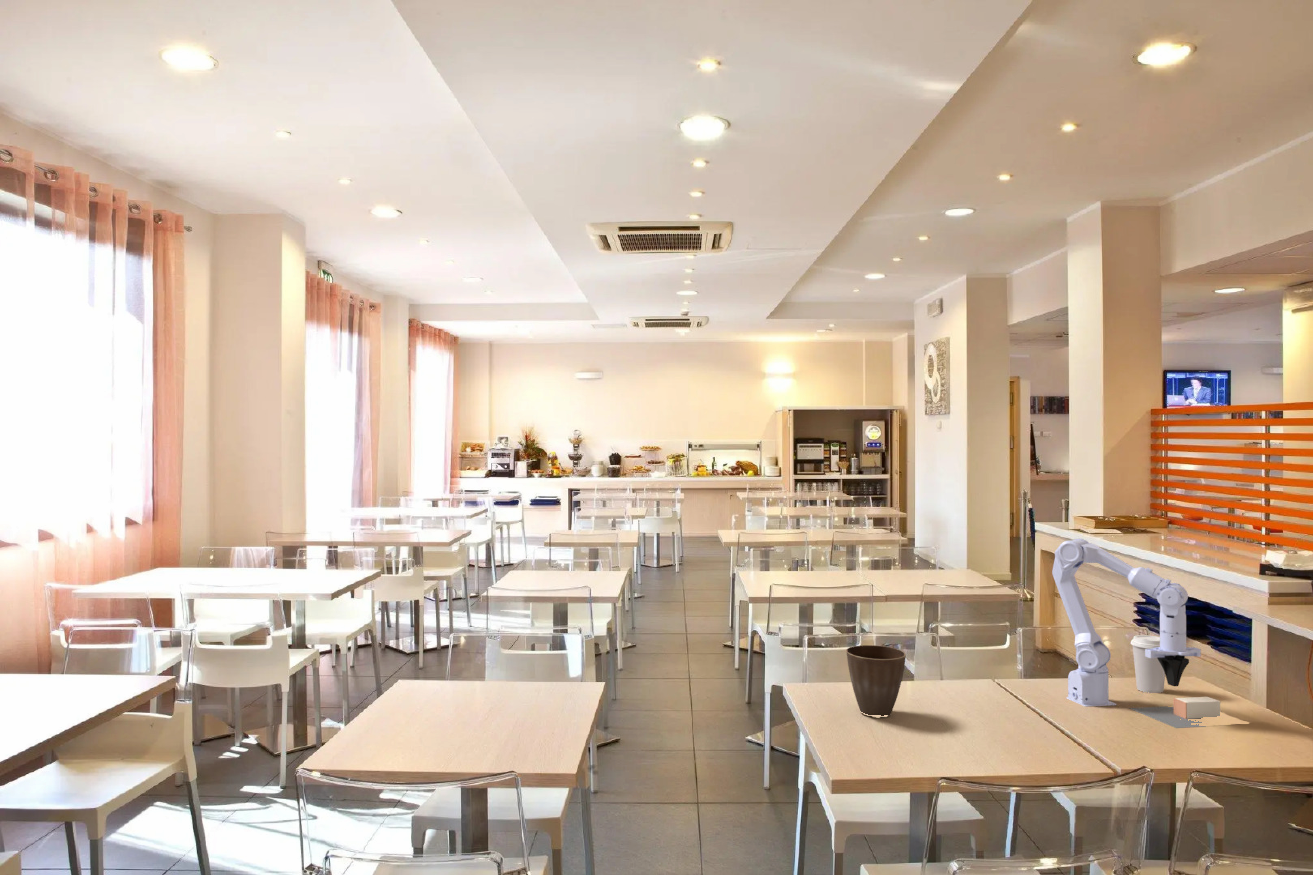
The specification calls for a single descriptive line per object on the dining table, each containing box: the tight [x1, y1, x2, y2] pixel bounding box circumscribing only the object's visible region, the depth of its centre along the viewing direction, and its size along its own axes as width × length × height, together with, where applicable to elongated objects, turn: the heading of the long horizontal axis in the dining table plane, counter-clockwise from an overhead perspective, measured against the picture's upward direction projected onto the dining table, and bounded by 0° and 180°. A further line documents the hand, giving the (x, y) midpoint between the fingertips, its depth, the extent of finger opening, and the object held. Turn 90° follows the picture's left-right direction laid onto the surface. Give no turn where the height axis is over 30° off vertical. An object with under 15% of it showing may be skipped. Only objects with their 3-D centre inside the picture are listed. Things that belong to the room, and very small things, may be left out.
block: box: [1172, 696, 1221, 719], centre depth 211 cm, size 4×4×10 cm
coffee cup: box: [1130, 634, 1166, 694], centre depth 235 cm, size 10×10×15 cm
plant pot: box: [845, 644, 907, 716], centre depth 212 cm, size 15×15×16 cm
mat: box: [1128, 705, 1206, 729], centre depth 211 cm, size 22×16×1 cm
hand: (1173, 685), depth 210 cm, fingers closed
